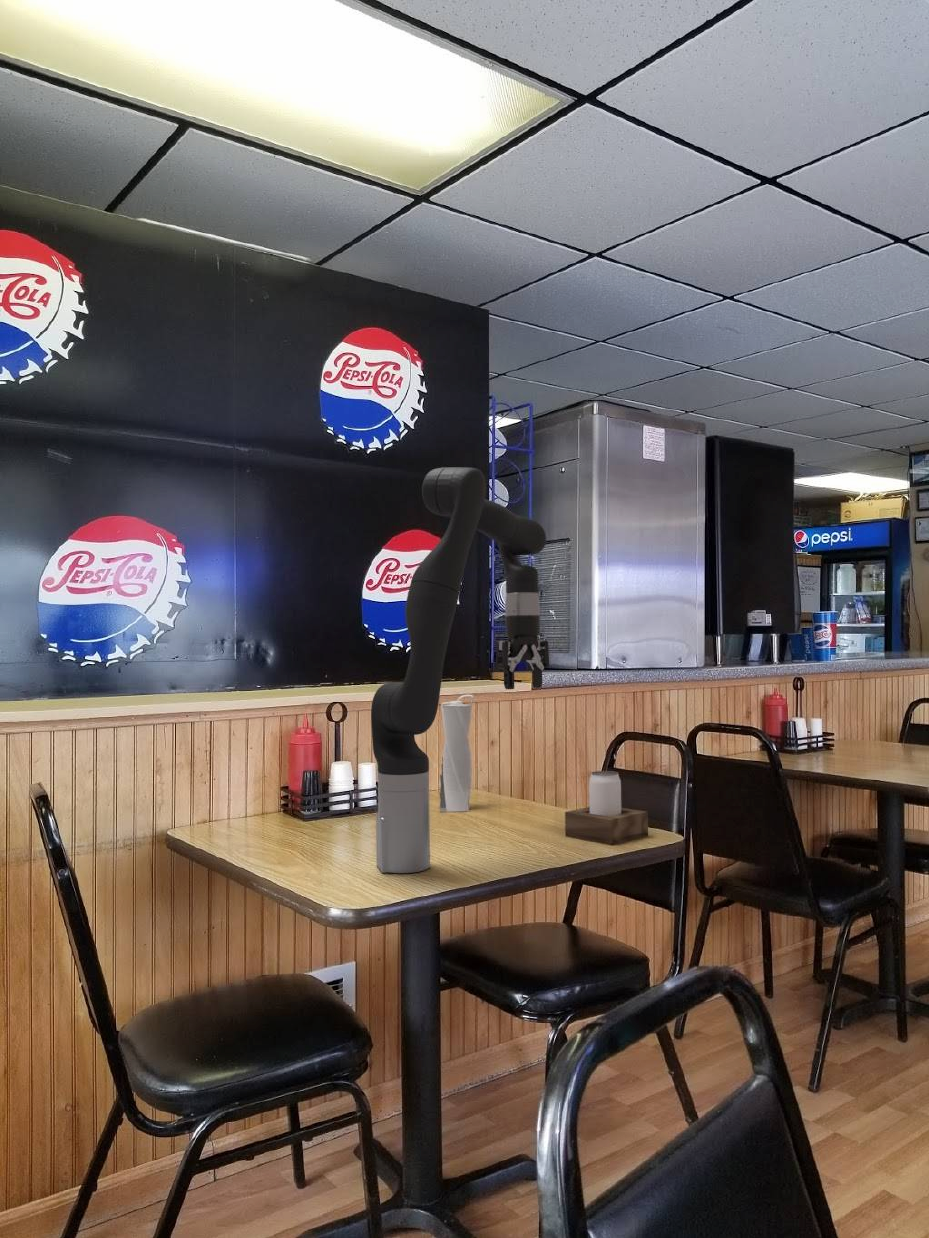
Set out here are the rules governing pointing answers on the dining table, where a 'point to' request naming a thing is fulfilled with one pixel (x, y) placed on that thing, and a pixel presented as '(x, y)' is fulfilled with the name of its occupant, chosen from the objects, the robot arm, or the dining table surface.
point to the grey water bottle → (456, 757)
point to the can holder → (606, 826)
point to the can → (605, 793)
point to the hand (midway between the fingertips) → (523, 688)
